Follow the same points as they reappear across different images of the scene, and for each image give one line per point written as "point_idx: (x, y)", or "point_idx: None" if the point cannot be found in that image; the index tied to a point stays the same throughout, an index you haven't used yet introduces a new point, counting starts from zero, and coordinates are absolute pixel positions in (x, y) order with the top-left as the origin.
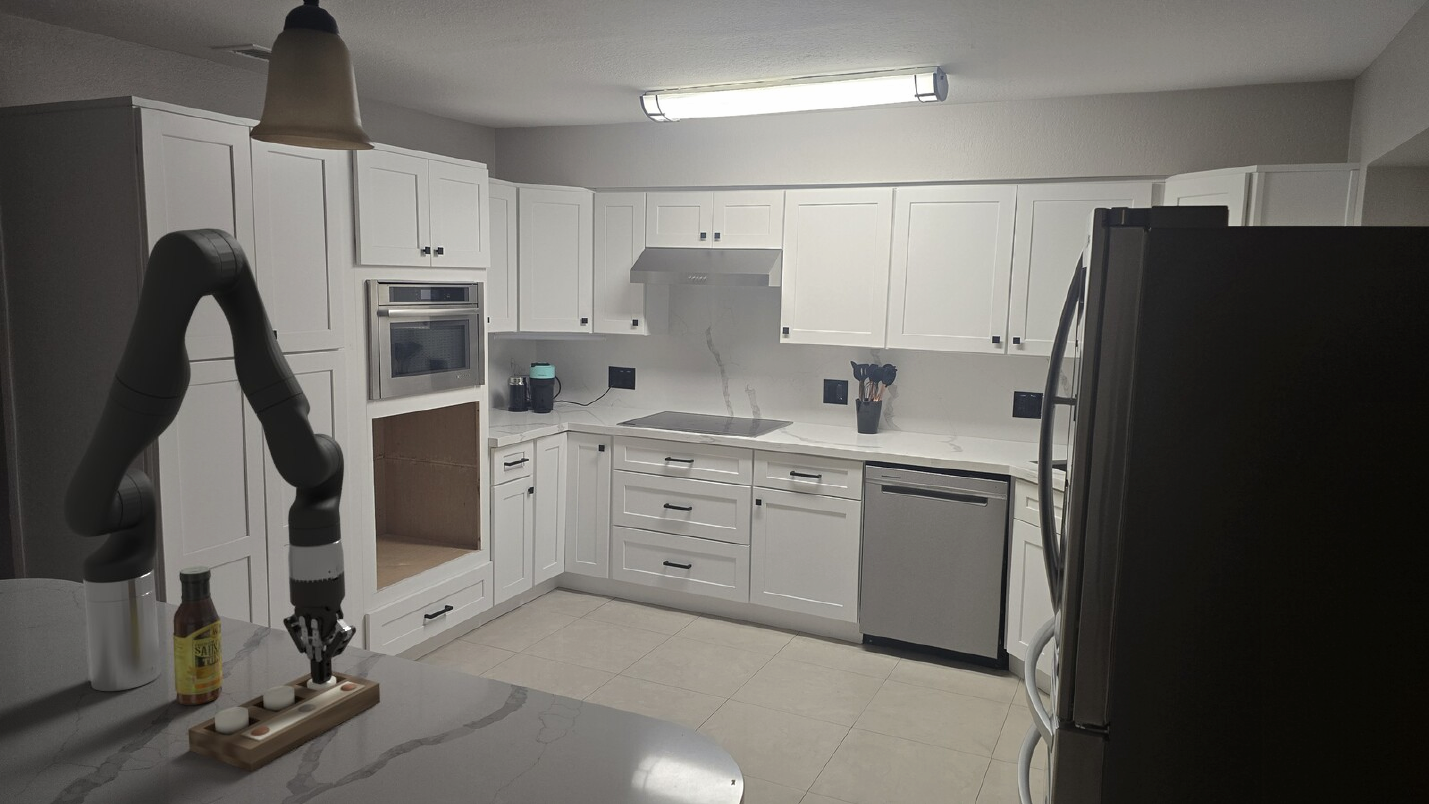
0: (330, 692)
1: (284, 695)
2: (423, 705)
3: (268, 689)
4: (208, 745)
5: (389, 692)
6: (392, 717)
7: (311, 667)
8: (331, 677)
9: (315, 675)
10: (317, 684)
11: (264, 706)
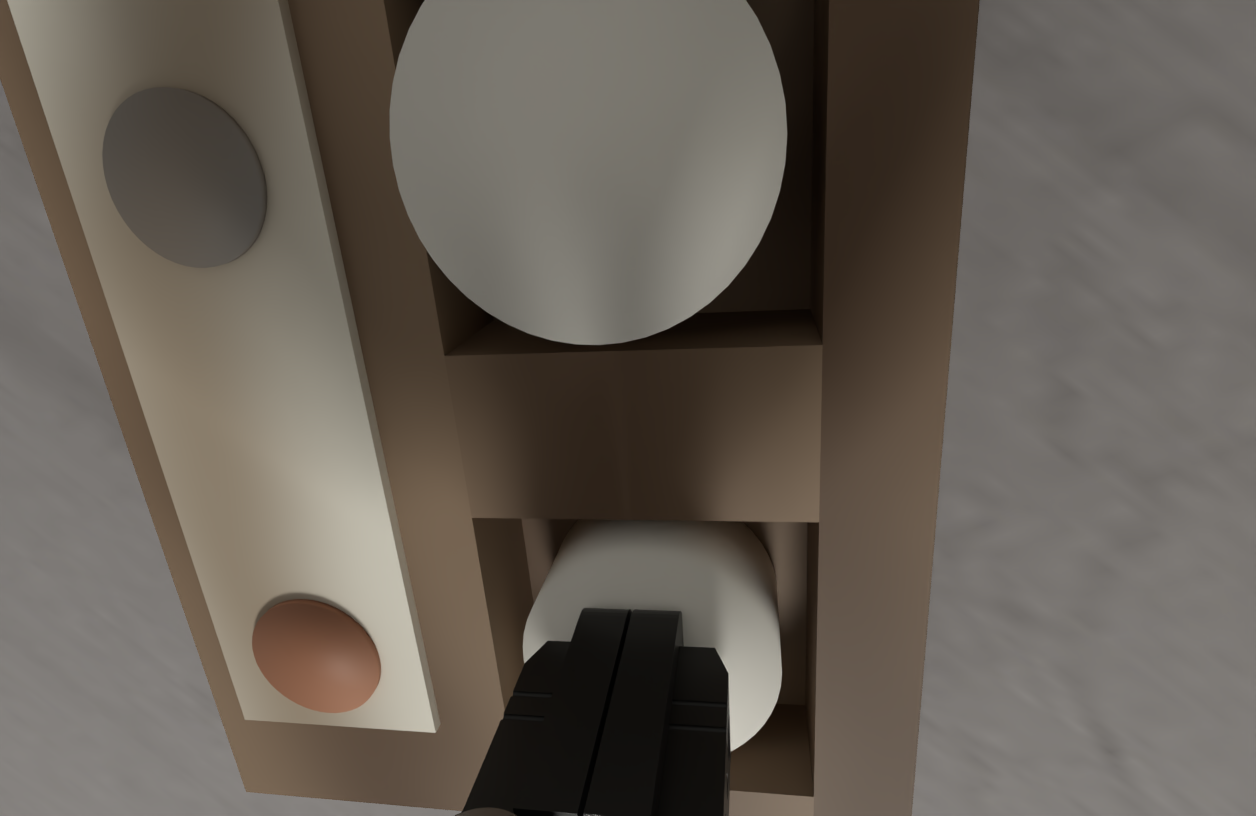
0: (349, 529)
1: (418, 118)
2: (115, 731)
3: (783, 121)
4: None
5: None
6: (96, 567)
7: (707, 743)
8: None
9: (612, 661)
10: (616, 602)
11: None
